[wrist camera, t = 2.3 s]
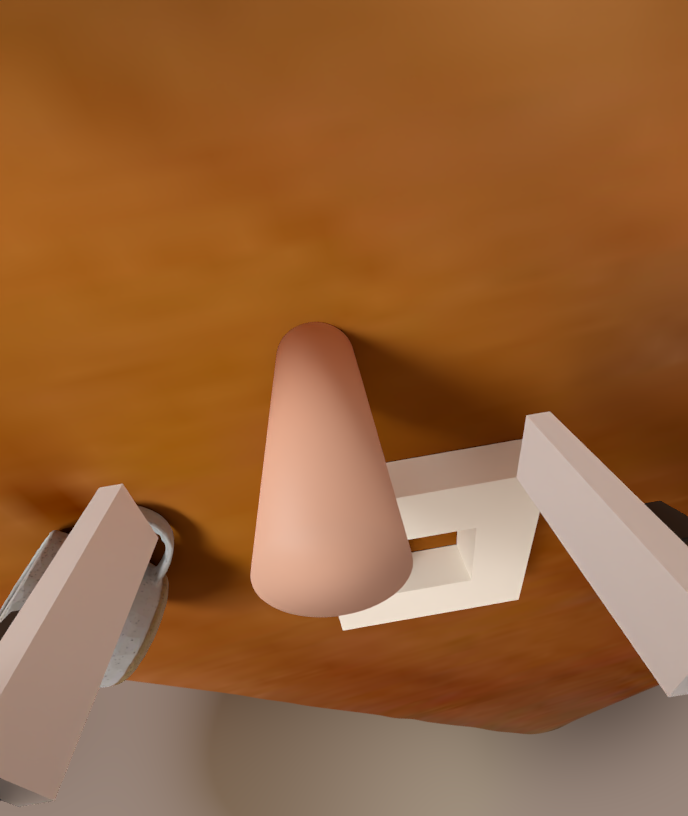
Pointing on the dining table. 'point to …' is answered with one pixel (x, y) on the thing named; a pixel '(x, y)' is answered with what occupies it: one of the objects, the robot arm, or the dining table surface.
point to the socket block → (459, 532)
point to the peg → (325, 487)
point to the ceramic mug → (143, 609)
